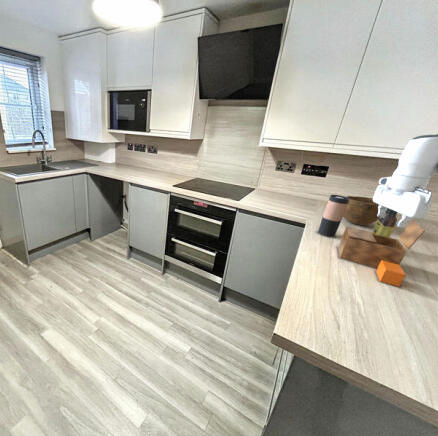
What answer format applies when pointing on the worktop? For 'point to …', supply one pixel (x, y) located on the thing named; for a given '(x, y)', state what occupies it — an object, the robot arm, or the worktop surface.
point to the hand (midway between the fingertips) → (389, 221)
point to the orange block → (390, 273)
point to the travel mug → (333, 215)
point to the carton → (369, 248)
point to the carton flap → (411, 234)
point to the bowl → (361, 210)
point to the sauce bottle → (386, 224)
